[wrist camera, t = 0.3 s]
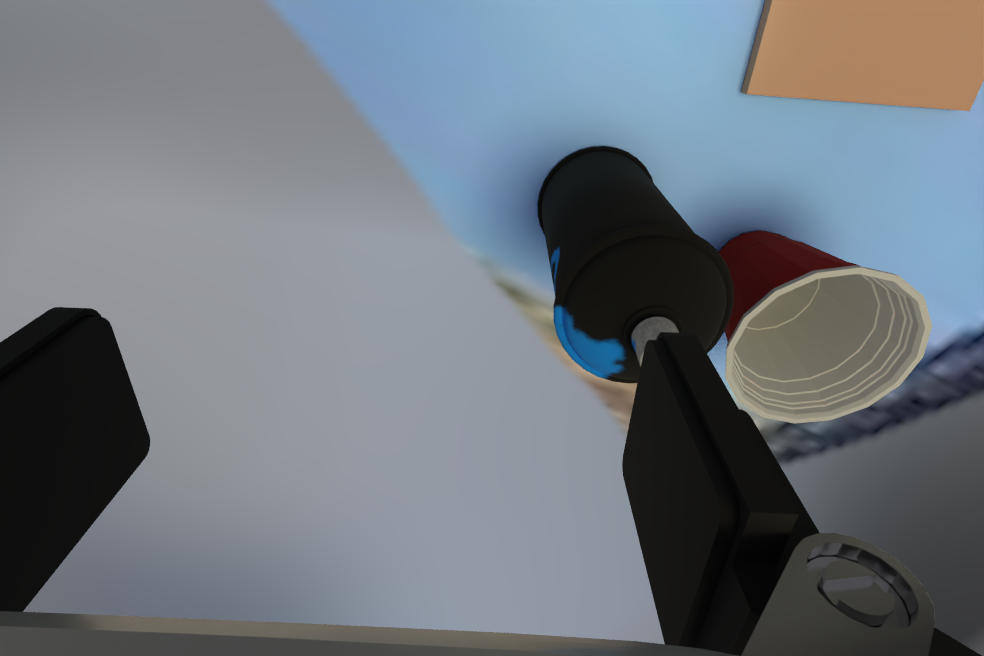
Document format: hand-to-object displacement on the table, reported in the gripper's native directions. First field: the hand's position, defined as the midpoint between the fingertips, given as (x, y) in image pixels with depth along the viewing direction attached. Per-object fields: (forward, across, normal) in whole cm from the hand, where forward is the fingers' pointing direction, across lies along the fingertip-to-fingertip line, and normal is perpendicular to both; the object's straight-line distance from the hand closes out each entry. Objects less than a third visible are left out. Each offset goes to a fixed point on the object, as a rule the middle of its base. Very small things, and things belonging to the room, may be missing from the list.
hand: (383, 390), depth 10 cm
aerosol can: (+31, -9, +6) cm, 33 cm away
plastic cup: (+31, -21, +10) cm, 39 cm away
